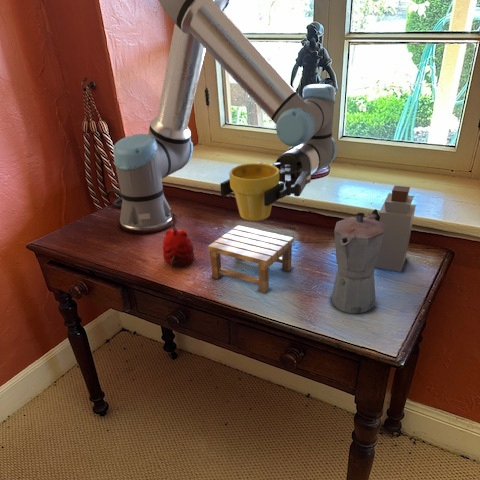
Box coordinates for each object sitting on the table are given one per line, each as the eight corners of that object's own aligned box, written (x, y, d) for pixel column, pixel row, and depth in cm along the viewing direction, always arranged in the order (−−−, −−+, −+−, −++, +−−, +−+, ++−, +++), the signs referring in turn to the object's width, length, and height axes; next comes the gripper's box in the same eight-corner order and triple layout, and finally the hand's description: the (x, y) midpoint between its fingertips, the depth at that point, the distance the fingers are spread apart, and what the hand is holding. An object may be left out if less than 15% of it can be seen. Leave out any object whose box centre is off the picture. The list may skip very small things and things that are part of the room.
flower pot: (275, 225, 95) (275, 179, 90) (227, 223, 97) (224, 178, 91) (281, 206, 103) (282, 163, 98) (236, 205, 105) (235, 162, 100)
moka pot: (315, 312, 93) (322, 220, 82) (346, 279, 103) (355, 192, 92) (360, 326, 89) (373, 231, 77) (387, 290, 99) (402, 201, 87)
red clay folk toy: (196, 256, 115) (190, 199, 107) (192, 270, 110) (185, 210, 101) (167, 256, 116) (158, 199, 107) (161, 270, 110) (152, 211, 102)
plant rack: (210, 277, 107) (207, 245, 102) (239, 254, 115) (238, 225, 110) (266, 293, 100) (266, 261, 95) (292, 268, 108) (293, 237, 104)
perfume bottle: (405, 258, 110) (419, 185, 99) (401, 271, 105) (415, 195, 95) (377, 254, 112) (387, 181, 102) (371, 266, 107) (382, 192, 97)
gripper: (339, 188, 105) (291, 223, 91) (256, 173, 116) (201, 202, 102) (342, 155, 101) (292, 185, 86) (256, 142, 112) (198, 168, 97)
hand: (243, 194), depth 94 cm, fingers closed on flower pot, 10 cm apart
